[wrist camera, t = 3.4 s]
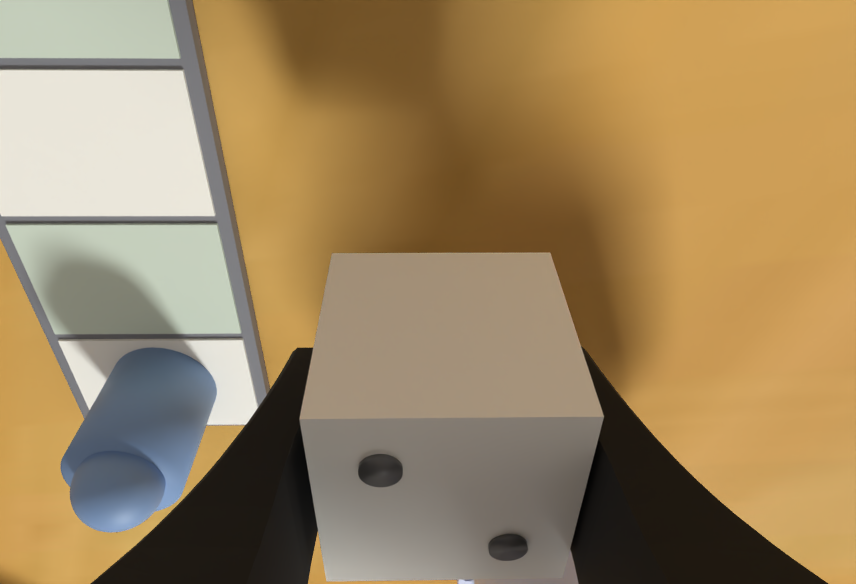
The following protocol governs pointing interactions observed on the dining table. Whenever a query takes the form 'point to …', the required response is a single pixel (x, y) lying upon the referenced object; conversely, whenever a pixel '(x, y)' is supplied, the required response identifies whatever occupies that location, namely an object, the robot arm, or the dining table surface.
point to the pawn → (138, 439)
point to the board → (122, 194)
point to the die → (447, 418)
